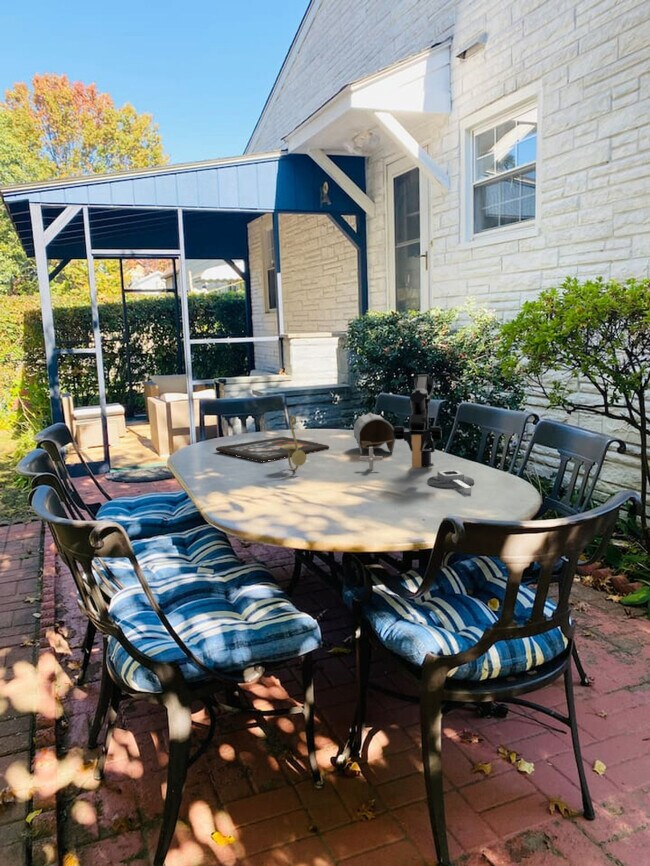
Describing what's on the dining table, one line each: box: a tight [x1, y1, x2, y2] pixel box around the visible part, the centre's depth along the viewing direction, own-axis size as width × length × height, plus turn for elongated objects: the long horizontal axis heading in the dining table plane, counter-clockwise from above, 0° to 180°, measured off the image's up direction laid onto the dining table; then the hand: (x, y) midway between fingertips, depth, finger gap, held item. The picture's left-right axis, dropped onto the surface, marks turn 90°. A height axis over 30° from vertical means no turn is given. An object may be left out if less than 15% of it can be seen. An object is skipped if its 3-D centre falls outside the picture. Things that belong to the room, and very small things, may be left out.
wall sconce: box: [281, 414, 307, 472], centre depth 282 cm, size 14×10×25 cm
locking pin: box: [411, 434, 422, 469], centre depth 253 cm, size 4×4×12 cm
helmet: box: [353, 412, 396, 455], centre depth 321 cm, size 19×18×30 cm
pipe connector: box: [359, 447, 384, 471], centre depth 281 cm, size 10×10×10 cm
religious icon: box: [215, 436, 330, 462], centre depth 331 cm, size 40×45×3 cm
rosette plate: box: [427, 469, 475, 495], centre depth 250 cm, size 27×18×4 cm, turn 10°
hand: (416, 450), depth 251 cm, fingers closed on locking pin, 4 cm apart
